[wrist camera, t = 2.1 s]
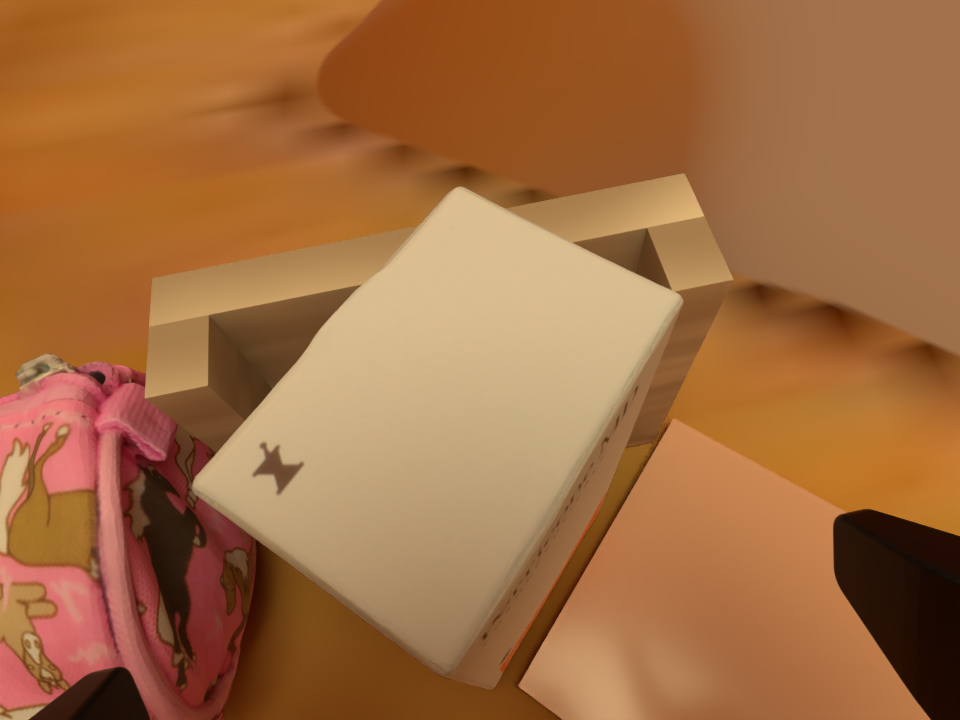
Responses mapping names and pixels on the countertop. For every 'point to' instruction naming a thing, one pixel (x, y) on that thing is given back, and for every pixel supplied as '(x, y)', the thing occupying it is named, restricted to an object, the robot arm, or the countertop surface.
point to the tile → (714, 606)
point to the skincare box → (451, 432)
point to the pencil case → (112, 548)
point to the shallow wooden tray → (348, 264)
